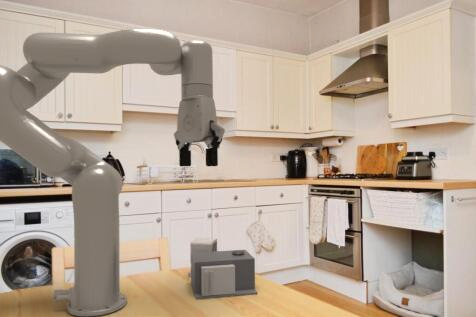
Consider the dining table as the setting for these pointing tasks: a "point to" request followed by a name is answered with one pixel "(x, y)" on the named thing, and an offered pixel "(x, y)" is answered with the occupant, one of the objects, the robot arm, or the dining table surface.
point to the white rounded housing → (202, 246)
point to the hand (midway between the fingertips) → (198, 166)
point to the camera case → (237, 257)
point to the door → (217, 280)
